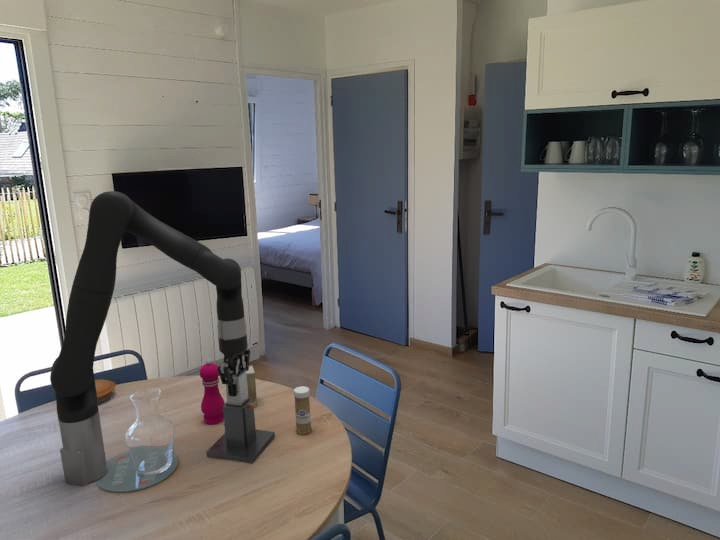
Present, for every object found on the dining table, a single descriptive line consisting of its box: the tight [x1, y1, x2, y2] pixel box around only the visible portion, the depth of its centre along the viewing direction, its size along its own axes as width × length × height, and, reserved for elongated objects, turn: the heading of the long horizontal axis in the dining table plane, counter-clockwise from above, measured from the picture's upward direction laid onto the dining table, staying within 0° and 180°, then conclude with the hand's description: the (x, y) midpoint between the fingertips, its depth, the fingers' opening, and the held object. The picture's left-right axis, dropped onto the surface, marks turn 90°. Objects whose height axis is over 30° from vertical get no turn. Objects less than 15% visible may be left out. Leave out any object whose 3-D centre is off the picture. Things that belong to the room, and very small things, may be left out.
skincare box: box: [246, 365, 258, 408], centre depth 177 cm, size 6×4×12 cm
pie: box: [95, 379, 117, 405], centre depth 185 cm, size 15×16×5 cm
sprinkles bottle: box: [293, 386, 312, 435], centre depth 159 cm, size 5×5×14 cm
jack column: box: [225, 368, 249, 408], centre depth 151 cm, size 4×4×20 cm
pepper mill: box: [199, 358, 226, 425], centre depth 167 cm, size 7×7×20 cm
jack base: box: [205, 398, 276, 464], centre depth 152 cm, size 14×14×14 cm
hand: (237, 391), depth 150 cm, fingers closed on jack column, 4 cm apart
